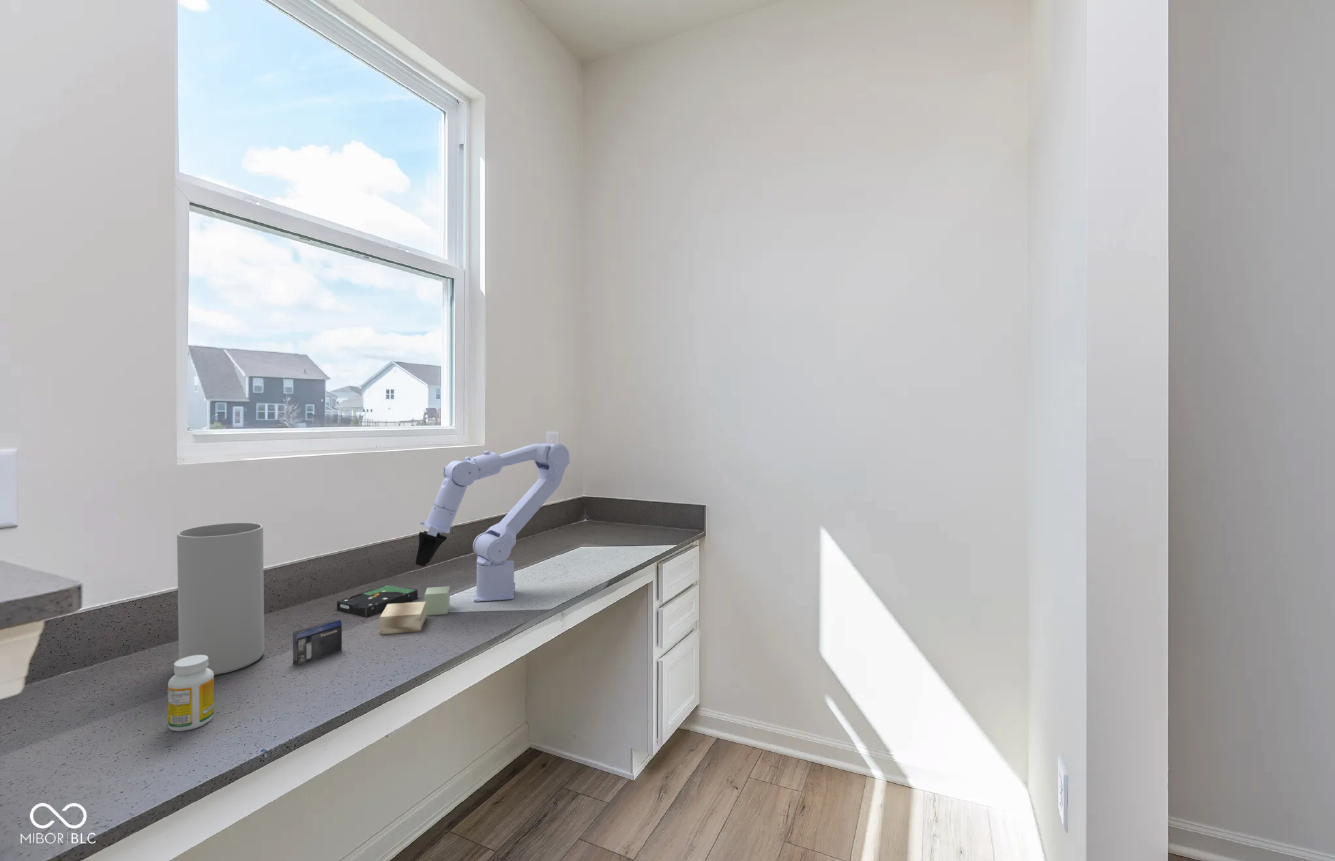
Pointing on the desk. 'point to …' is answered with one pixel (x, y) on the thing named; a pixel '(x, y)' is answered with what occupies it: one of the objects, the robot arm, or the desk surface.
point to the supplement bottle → (190, 694)
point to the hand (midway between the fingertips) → (421, 563)
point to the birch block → (403, 617)
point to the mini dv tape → (317, 641)
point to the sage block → (437, 600)
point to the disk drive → (376, 600)
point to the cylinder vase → (221, 594)
